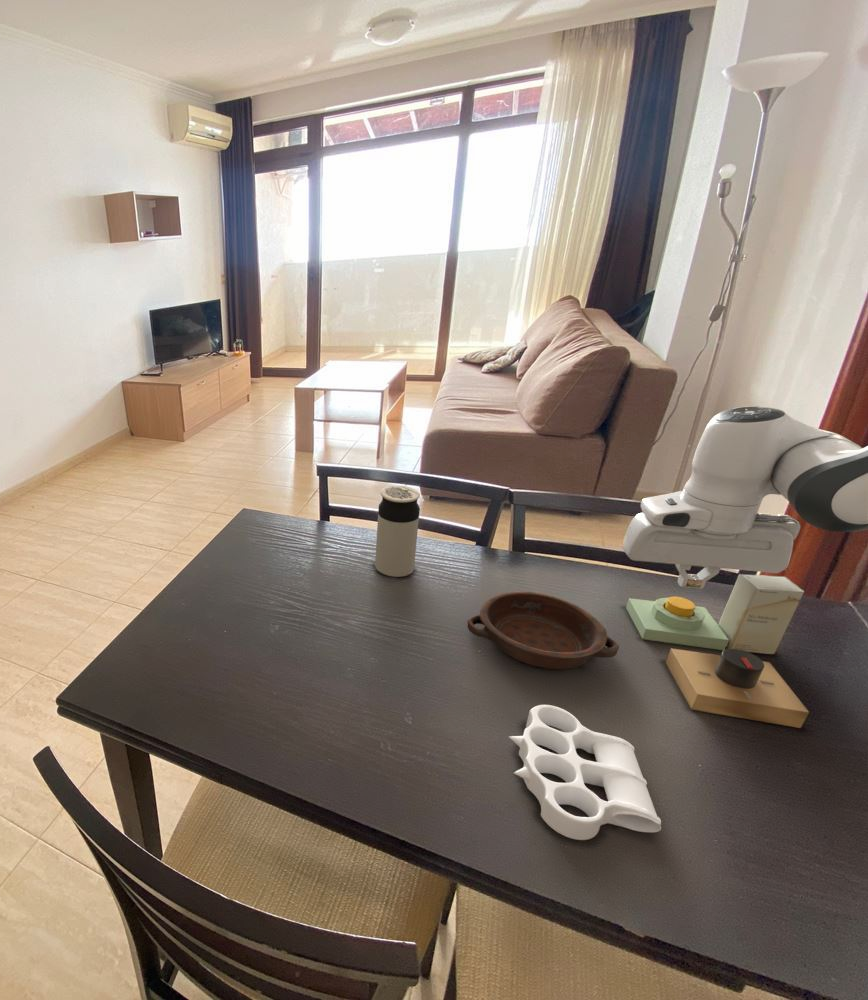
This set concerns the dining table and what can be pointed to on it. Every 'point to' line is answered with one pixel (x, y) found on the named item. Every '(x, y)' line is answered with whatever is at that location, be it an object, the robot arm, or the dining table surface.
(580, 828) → the knuckle duster
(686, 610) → the button
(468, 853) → the dining table surface
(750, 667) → the dial
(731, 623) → the cosmetic box
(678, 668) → the dial panel
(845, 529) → the robot arm
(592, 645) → the dish
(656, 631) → the button housing
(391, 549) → the travel mug
